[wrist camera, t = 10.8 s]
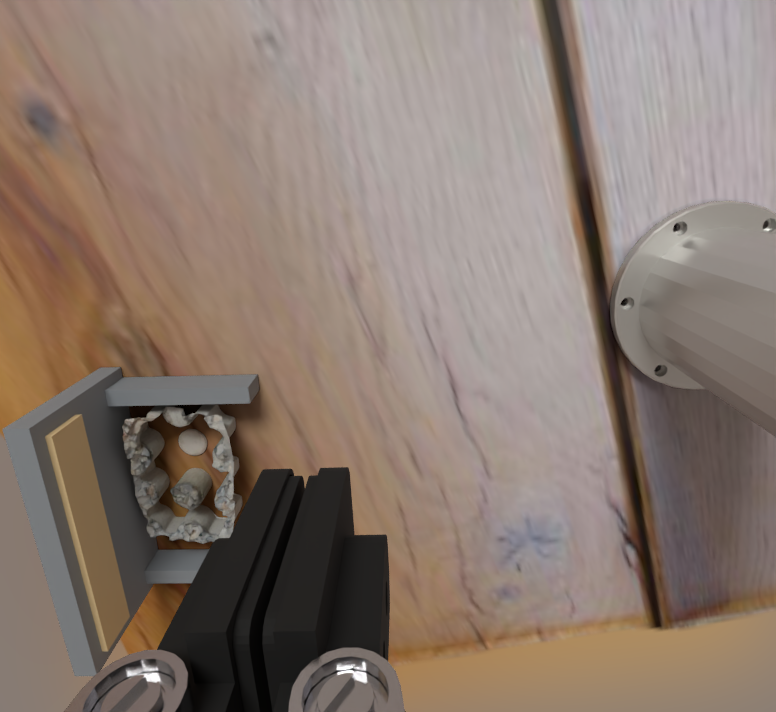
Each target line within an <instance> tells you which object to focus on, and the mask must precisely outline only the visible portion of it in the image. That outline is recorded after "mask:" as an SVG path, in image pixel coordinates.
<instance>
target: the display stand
mask: <svg viewBox="0 0 776 712" xmlns="http://www.w3.org/2000/svg"><path fill="white" fill-rule="evenodd" d="M258 391H259V382H258V374H254V375H211V376H168V377H124V378H123V376H122V371H121V367H112V368H99V369H98V370H96V371H95V372H93V373H91V374H90V375H88V376H87V377H85V378H83V379H82V380H80V381H79V382H77V383H75V384H74V385H72V386H71V387H69V388H67V389H66V390H64V391H63V392H61V393H59V394H58V395H56V396H55V397H53V398H51V399H50V400H48V401H47V402H45V403H44V404H42V405H40V406H39V407H37V408H36V409H34V410H32V411H31V412H29V413H28V414H26V415H24V416H23V417H21V418H20V419H18V420H16V421H15V422H13V423H12V424H10V425H8V426H7V427H5V428H4V429H3V433H4V436H5V440H6V443H7V446H8V450H9V453H10V457H11V460H12V463H13V467H14V470H15V474H16V477H17V480H18V484H19V487H20V490H21V494H22V497H23V501H24V504H25V508H26V511H27V515H28V518H29V521H30V525H31V528H32V531H33V535H34V538H35V542H36V545H37V549H38V552H39V555H40V559H41V562H42V566H43V569H44V573H45V576H46V579H47V583H48V586H49V590H50V593H51V596H52V600H53V603H54V607H55V610H56V613H57V617H58V620H59V624H60V627H61V631H62V634H63V637H64V641H65V644H66V648H67V651H68V654H69V658H70V661H71V664H72V668H73V671H74V675H75V676H95V675H96V674H97V673H98V672H100V670H101V669H102V667H103V666H104V664H105V662H106V661H107V659H108V657H109V656H110V654H111V653H112V651H113V649H114V648H115V646H116V644H117V643H118V641H119V640H120V638H121V636H122V635H123V633H124V631H125V630H126V628H127V627H128V625H129V623H130V622H131V620H132V618H133V617H134V615H135V614H136V612H137V610H138V609H139V607H140V605H141V604H142V602H143V601H144V599H145V597H146V596H147V594H148V592H149V591H150V589H151V588H152V586H153V584H155V583H192V582H193V580H194V578H195V576H196V574H197V572H198V570H199V568H200V566H201V564H202V562H203V560H204V559H205V557H206V555H207V553H208V551H209V549H186V550H158V546H157V541H156V537H150V535H149V533H148V532H147V524H148V520H147V518H145V517H144V515H143V510H142V509H141V507H140V505H139V503H138V500H137V498H136V496H135V484H134V477H133V475H132V474H131V459H127V455H126V453H125V450H124V441H123V432H124V431H123V428H122V426H123V424H124V421H125V420H126V419H131V415H130V410H129V406H153V405H200V404H248V403H251V401H252V400H253V399H254V397H255V396H256V394H257V393H258Z"/></svg>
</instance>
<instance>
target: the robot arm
mask: <svg viewBox="0 0 776 712" xmlns="http://www.w3.org/2000/svg"><path fill="white" fill-rule="evenodd" d="M675 224H676V225H677V228H676V230H674V231H673V227H674V225H675ZM763 224H764V225H763ZM624 298H626V301H625V303H624V304H621V302H622V300H623V299H624ZM610 317H611V325H612V329H613V333H614V337H615V339H616V341H617V343H618V345H619V347H620V349H621V351H622V353H623V354H624V355H625V356H626V357H627V359H628V360H629V361H630V362H631V363H632V364H633V365H634V366H635V367H636V368H638V369H639V370H640V371H641V372H642V373H643V374H645V375H647V376H648V377H650V378H651V379H653V380H655V381H657V382H659V383H662V384H665V385H668V386H670V387H674V388H681V389H687V390H703V389H707V390H709V391H710V392H712V393H713V394H715V395H716V396H717V397H719V398H720V399H722V400H723V401H725V402H726V403H727V404H729V405H730V406H732V407H733V408H735V409H736V410H737V411H739V412H740V413H742V414H743V415H745V416H746V417H748V418H749V419H750V420H752V421H753V422H755V423H756V424H758V425H759V426H760V427H762V428H763V429H765V430H766V431H768V432H769V433H771V434H772V435H773V436H775V437H776V213H775V212H773V211H771V210H769V209H767V208H765V207H761V206H758V205H754V204H751V203H746V202H736V201H716V202H707V203H703V204H698V205H694V206H691V207H688V208H686V209H683V210H681V211H679V212H676V213H674V214H672V215H670V216H669V217H667V218H666V219H664V220H662V221H661V222H659V223H658V224H656V225H655V226H654V227H653V228H651V229H650V230H649V231H648V232H647V233H646V234H645V235H644V236H642V237H641V238H640V239H639V241H638V242H637V243H636V244H635V246H634V247H633V248H632V249H631V251H630V252H629V253H628V255H627V256H626V258H625V260H624V262H623V264H622V265H621V267H620V269H619V271H618V274H617V277H616V279H615V282H614V285H613V288H612V295H611V302H610ZM657 366H658V367H657ZM656 367H657V368H656ZM655 368H656V369H655ZM389 612H390V591H389V562H388V544H387V536H386V535H354V523H353V510H352V497H351V485H350V473H349V469H348V467H344V468H320V470H319V473H318V476H309V478H308V481H307V484H306V488H304V480H303V477H302V476H294V473H293V470H292V469H265V470H263V471H262V472H261V474H260V476H259V478H258V480H257V482H256V484H255V486H254V488H253V490H252V493H251V495H250V497H249V499H248V501H247V503H246V505H245V507H244V509H243V511H242V513H241V515H240V517H239V519H238V522H237V524H236V526H235V528H234V530H233V532H232V534H231V536H230V538H218V539H216V540H215V541H214V542H213V544H212V545H211V547H210V549H209V551H208V553H207V555H206V557H205V559H204V560H203V562H202V564H201V566H200V568H199V570H198V572H197V574H196V576H195V578H194V580H193V582H192V583H191V585H190V587H189V589H188V591H187V593H186V595H185V597H184V599H183V601H182V603H181V605H180V606H179V608H178V610H177V612H176V614H175V616H174V618H173V620H172V622H171V624H170V626H169V628H168V629H167V631H166V633H165V635H164V637H163V639H162V641H161V643H160V645H159V647H158V649H157V650H145V651H141V652H137V653H133V654H129V655H127V656H125V657H123V658H121V659H119V660H117V661H115V662H113V663H111V664H110V665H109V666H107V667H105V668H104V669H103V670H101V671H100V672H98V673H97V674H96V675H95V676H94V677H93V678H92V679H91V680H90V681H89V682H88V683H87V684H86V685H85V686H84V687H83V688H82V689H81V691H80V692H79V693H78V694H77V696H76V697H75V698H74V699H73V701H72V702H71V704H69V706H68V707H67V708H66V710H65V711H64V712H405V710H404V704H403V698H402V692H401V686H400V683H399V680H398V677H397V674H396V671H395V670H394V669H393V667H392V666H391V665H390V664H389V662H388V646H389Z"/></svg>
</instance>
